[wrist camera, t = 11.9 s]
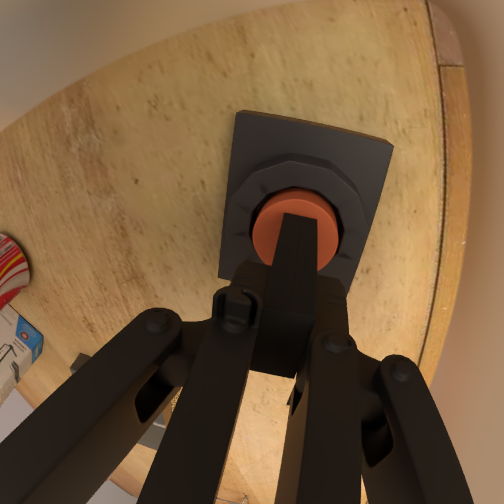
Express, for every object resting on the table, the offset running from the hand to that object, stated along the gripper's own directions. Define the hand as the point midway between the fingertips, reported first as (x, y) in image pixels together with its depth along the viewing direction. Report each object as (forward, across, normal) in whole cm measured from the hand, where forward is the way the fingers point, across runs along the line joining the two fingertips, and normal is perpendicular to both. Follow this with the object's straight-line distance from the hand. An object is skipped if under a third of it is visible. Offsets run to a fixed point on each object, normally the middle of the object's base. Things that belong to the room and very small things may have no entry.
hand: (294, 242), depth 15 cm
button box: (+5, 0, 0) cm, 5 cm away
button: (+2, 0, 0) cm, 2 cm away
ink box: (+5, -30, -21) cm, 37 cm away
